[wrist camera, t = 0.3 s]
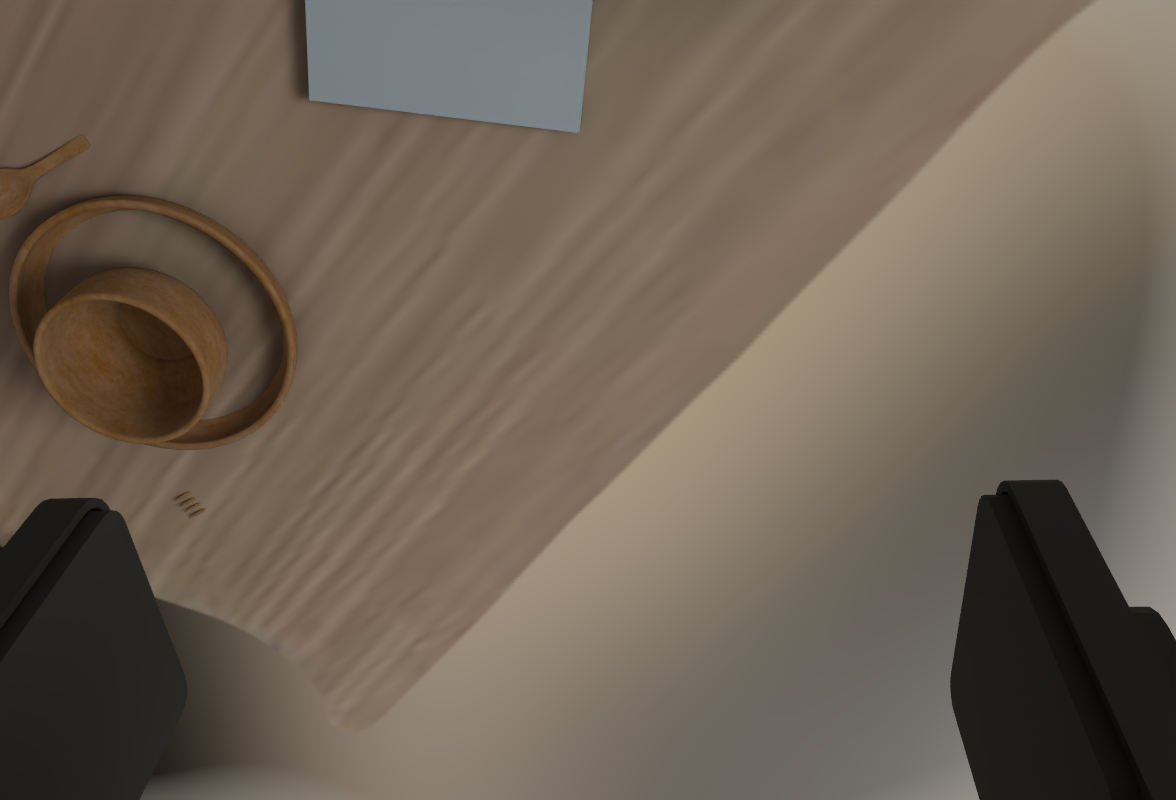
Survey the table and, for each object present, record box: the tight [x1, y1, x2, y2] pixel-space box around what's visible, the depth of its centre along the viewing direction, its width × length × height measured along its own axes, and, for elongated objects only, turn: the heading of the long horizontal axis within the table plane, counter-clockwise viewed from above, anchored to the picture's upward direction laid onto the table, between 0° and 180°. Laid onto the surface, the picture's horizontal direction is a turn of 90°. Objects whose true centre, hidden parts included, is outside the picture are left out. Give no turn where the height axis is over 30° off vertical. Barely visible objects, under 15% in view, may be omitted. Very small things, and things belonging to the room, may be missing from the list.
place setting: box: [0, 135, 297, 518], centre depth 45 cm, size 18×20×6 cm
